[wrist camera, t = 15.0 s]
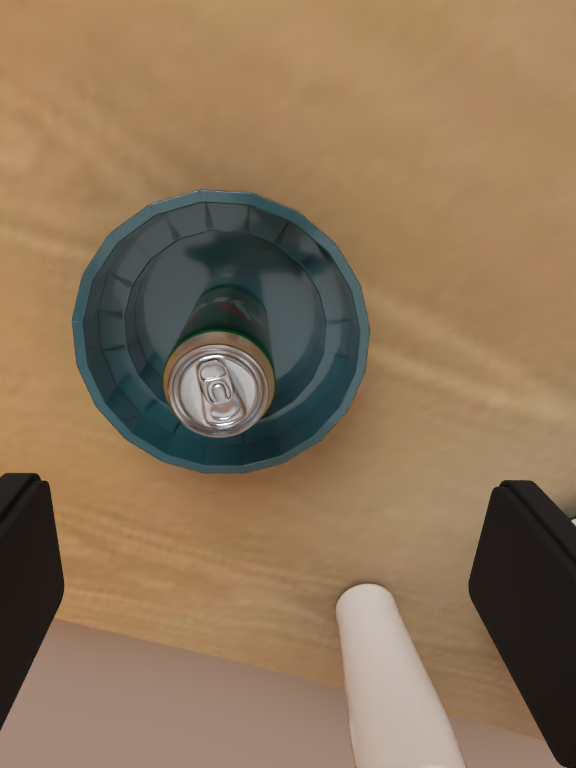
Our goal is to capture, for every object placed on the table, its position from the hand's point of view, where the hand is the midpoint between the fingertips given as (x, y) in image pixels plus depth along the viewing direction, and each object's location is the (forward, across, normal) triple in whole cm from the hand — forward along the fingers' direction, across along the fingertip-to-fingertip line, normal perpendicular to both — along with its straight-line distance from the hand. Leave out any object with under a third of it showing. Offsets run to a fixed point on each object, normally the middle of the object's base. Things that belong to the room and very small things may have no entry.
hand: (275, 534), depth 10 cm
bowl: (+23, +2, +2) cm, 23 cm away
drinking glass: (+23, -10, +26) cm, 37 cm away
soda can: (+23, +2, +2) cm, 23 cm away
